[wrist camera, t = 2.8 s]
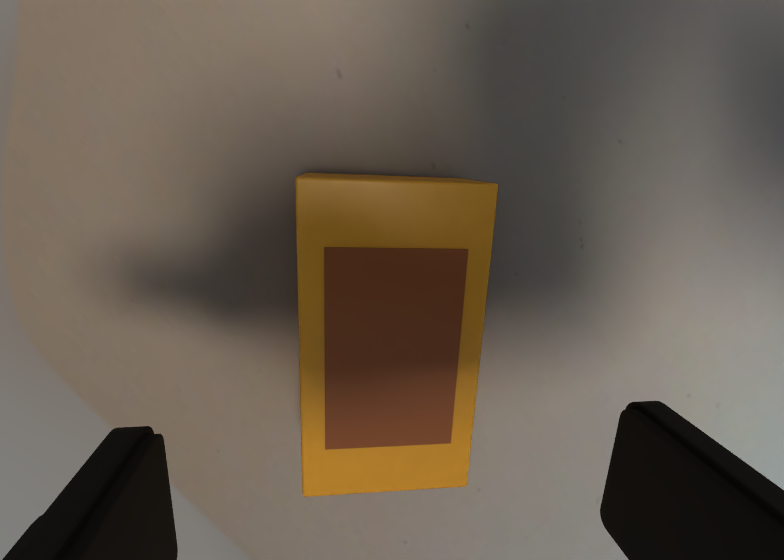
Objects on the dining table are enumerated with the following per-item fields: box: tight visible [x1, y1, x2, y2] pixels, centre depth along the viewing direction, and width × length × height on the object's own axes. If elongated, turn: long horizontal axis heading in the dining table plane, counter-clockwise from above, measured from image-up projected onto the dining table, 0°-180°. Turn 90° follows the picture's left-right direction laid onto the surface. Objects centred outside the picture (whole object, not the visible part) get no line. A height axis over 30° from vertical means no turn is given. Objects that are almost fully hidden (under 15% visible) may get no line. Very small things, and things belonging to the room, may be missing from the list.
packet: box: [295, 173, 498, 497], centre depth 15 cm, size 11×6×4 cm, turn 178°
